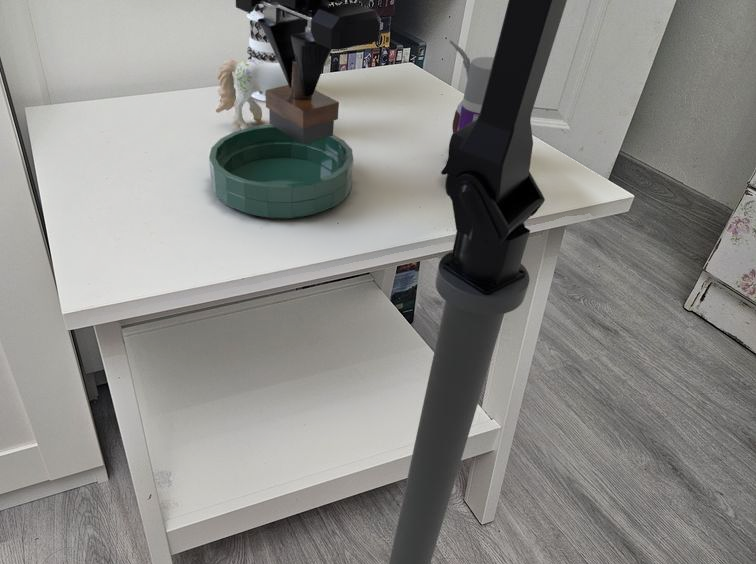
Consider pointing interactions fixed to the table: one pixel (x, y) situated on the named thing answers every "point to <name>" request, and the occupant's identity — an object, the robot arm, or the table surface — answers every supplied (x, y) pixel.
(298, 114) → the scrub brush
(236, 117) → the unicorn figurine
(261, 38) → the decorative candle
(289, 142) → the wash bowl
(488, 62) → the container
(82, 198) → the table surface
